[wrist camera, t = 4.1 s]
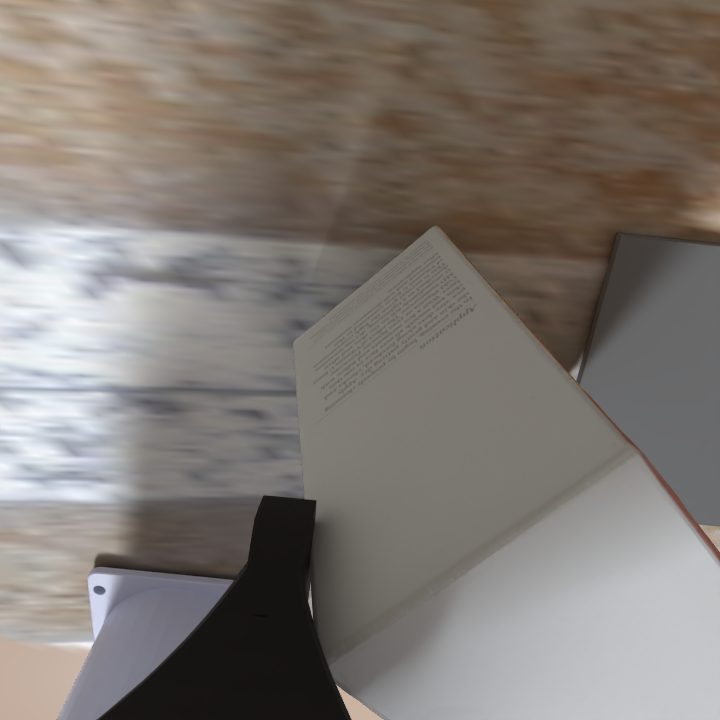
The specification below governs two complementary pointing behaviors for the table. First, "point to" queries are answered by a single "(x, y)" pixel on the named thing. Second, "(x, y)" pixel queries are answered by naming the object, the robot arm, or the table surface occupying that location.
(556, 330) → the table surface
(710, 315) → the mat
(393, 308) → the small box
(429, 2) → the table surface
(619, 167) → the table surface
